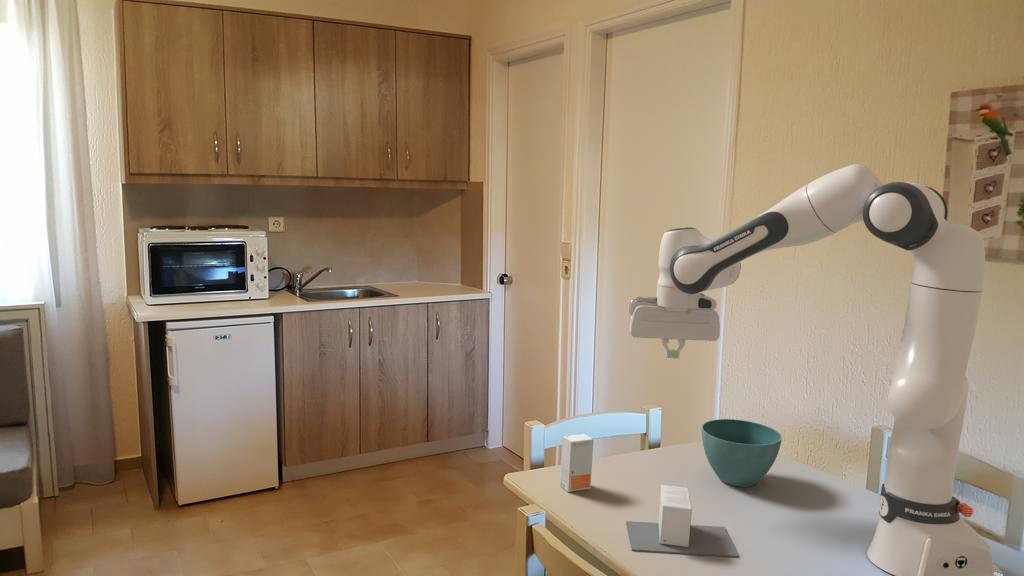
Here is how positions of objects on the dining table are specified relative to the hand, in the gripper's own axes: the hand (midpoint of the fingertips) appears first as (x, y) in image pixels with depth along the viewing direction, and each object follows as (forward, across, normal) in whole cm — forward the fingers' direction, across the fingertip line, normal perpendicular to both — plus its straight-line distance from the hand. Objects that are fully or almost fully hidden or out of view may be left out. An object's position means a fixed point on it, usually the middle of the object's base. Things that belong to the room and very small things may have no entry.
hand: (672, 357), depth 169 cm
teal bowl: (+30, +18, +4) cm, 35 cm away
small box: (+26, -2, -22) cm, 34 cm away
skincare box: (+30, -21, -6) cm, 37 cm away
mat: (+30, -1, -28) cm, 41 cm away
